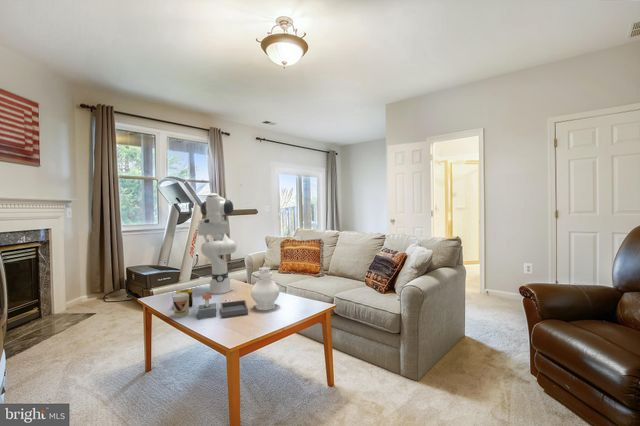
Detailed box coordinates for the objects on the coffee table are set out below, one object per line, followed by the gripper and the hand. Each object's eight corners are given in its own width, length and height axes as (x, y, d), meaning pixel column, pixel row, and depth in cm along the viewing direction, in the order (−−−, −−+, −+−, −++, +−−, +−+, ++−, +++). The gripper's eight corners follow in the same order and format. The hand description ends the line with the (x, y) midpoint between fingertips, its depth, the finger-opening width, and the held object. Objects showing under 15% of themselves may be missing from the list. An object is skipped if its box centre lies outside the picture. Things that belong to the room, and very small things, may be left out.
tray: (221, 308, 195) (221, 302, 194) (245, 305, 199) (245, 300, 199) (221, 318, 178) (221, 312, 177) (248, 314, 182) (247, 308, 182)
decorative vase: (274, 312, 185) (272, 271, 184) (246, 310, 189) (245, 270, 188) (283, 302, 203) (282, 265, 202) (258, 301, 206) (257, 265, 205)
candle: (175, 309, 195) (174, 294, 194) (176, 304, 204) (175, 290, 204) (192, 307, 199) (192, 291, 198) (192, 302, 208) (192, 288, 208)
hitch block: (199, 313, 187) (198, 305, 186) (216, 311, 190) (216, 303, 190) (198, 318, 177) (197, 310, 177) (216, 316, 180) (216, 308, 180)
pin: (203, 314, 184) (202, 294, 183) (212, 313, 185) (211, 293, 185) (203, 316, 182) (202, 295, 181) (211, 314, 183) (211, 294, 183)
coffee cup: (171, 318, 180) (170, 297, 179) (175, 312, 189) (174, 293, 189) (188, 316, 182) (187, 296, 181) (191, 311, 191) (190, 292, 190)
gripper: (226, 219, 206) (227, 239, 206) (196, 220, 192) (196, 242, 192) (230, 219, 201) (231, 240, 202) (200, 220, 187) (200, 243, 187)
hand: (214, 241), depth 197 cm, fingers open, 8 cm apart
